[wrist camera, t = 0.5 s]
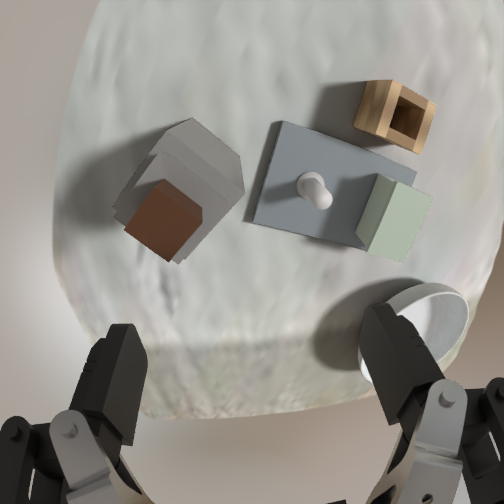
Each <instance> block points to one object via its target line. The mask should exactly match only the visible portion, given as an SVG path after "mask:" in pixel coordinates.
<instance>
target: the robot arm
mask: <svg viewBox="0 0 504 504" xmlns="http://www.w3.org/2000/svg"><path fill="white" fill-rule="evenodd" d="M419 335H420V334H419V332H418V331H417V329H416V328H415V326H414V324H413V323H412V322H410V321H409V320H408V319H407V318H405V317H404V316H403V315H398V316H397V315H396V313H395V311H394V310H393V308H392V307H391V305H390V304H389V303H382V304H376V305H369V306H367V307H366V310H365V314H364V318H363V323H362V327H361V331H360V334H359V349H360V352H361V355H362V357H363V360H364V362H365V365H366V367H367V370H368V372H369V374H370V377H371V380H372V382H373V385H374V387H375V390H376V392H377V395H378V397H379V400H380V403H381V405H382V408H383V411H384V413H385V416H386V419H387V421H388V424H389V425H393V424H396V423H400V425H401V427H402V429H401V431H400V433H399V436H398V439H397V442H396V444H395V446H394V449H393V452H392V454H391V457H390V459H389V461H388V464H387V466H386V468H385V471H384V473H383V475H382V477H381V479H380V480H379V482H378V483H377V485H376V486H375V487H374V489H373V491H372V492H371V494H370V496H369V498H368V500H367V502H366V504H452V503H453V500H454V497H455V493H456V490H457V487H458V483H459V480H460V476H461V473H462V474H463V477H464V480H465V483H466V487H467V491H468V494H469V498H470V502H471V504H504V378H500V377H499V378H494V379H492V380H491V381H490V382H489V384H488V385H487V386H486V388H481V389H464V388H463V387H462V386H461V385H460V384H459V383H457V382H456V381H453V380H450V379H446V378H445V377H444V375H443V373H442V372H441V370H440V368H439V366H438V365H437V363H436V361H435V359H434V358H433V356H432V354H431V352H430V351H429V349H428V347H427V346H426V345H425V342H424V341H423V339H422V337H421V336H419ZM147 367H148V361H147V354H146V351H145V349H144V347H143V344H142V342H141V340H140V337H139V335H138V332H137V330H136V328H135V326H134V325H133V324H112V325H111V326H110V328H109V331H108V333H107V336H106V338H100V339H99V340H98V341H97V342H96V344H95V345H94V346H93V347H92V348H91V350H90V353H89V355H88V358H87V363H85V365H84V368H83V372H82V373H81V376H80V379H79V381H78V384H77V387H76V390H75V393H74V395H73V398H72V402H71V404H70V407H69V409H68V410H65V411H62V412H60V413H59V414H57V415H56V416H55V417H54V418H53V420H52V422H51V423H44V424H35V425H31V424H29V423H28V422H27V421H26V420H25V419H24V418H23V417H20V416H13V417H11V418H9V419H7V420H6V421H5V423H4V424H3V426H2V428H1V431H0V504H154V502H152V501H151V499H150V498H149V497H148V496H147V495H146V493H145V492H144V491H143V489H142V487H141V486H140V484H139V483H138V481H137V480H136V478H135V477H134V475H133V474H132V472H131V470H130V469H129V467H128V466H127V464H126V462H125V461H124V459H123V457H122V455H121V454H120V450H121V445H127V446H133V439H134V433H135V428H136V422H137V417H138V412H139V407H140V401H141V396H142V391H143V387H144V382H145V377H146V373H147ZM490 431H491V433H492V436H493V438H494V440H495V443H496V446H497V448H498V451H499V454H500V461H499V459H498V456H497V454H496V451H495V448H494V446H493V443H492V441H491V438H490V436H489V432H490ZM33 469H35V474H34V479H33V485H32V491H31V497H30V500H29V497H28V493H29V487H30V481H31V475H32V471H33ZM328 504H346V500H341V501H337V502H332V503H328Z"/></svg>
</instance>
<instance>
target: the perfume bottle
mask: <svg viewBox="0 0 504 504" xmlns="http://www.w3.org/2000/svg"><path fill="white" fill-rule="evenodd" d="M244 194H245V188H244V182H243V175H242V168H241V161H240V156H239V155H238V154H237V153H235V152H234V151H233V150H232V149H231V148H229V147H228V146H227V145H226V144H225V143H223V142H222V141H221V140H220V139H219V138H217V137H216V136H215V135H214V134H212V133H211V132H210V131H209V130H208V129H206V128H205V127H204V126H203V125H201V124H200V123H199V122H198V121H196V120H195V119H194V118H191V119H189V120H187V121H185V122H183V123H181V124H179V125H177V126H174V127H172V128H170V129H168V130H167V131H166V132H165V133H164V135H163V136H162V137H161V138H160V140H159V141H158V142H157V144H156V145H155V146H154V147H153V149H152V150H151V151H150V153H149V154H148V155H147V157H146V158H145V160H144V161H143V162H142V164H141V165H140V166H139V168H138V169H137V171H136V172H135V173H134V175H133V176H132V178H131V179H130V181H129V182H128V183H127V185H126V186H125V188H124V189H123V191H122V192H121V194H120V195H119V197H118V198H117V200H116V202H115V203H114V205H113V206H112V207H114V208H115V209H116V210H118V211H117V212H116V214H115V215H114V218H115V219H116V220H118V221H119V222H120V223H122V224H123V225H124V226H126V227H125V229H124V231H126V232H127V233H129V234H130V235H131V236H133V237H134V238H135V239H137V240H138V241H139V242H141V243H142V244H144V245H145V246H146V247H148V248H149V249H151V250H152V251H153V252H155V253H156V254H158V255H159V256H160V257H162V258H163V259H165V260H166V261H167V262H169V261H170V260H173V261H174V262H176V263H177V264H178V265H179V263H180V262H181V261H182V260H183V259H186V258H187V257H188V256H189V255H190V253H191V252H192V251H193V250H194V249H195V248H196V247H197V246H198V244H199V243H200V242H201V241H202V240H203V239H204V238H205V237H206V236H207V234H208V233H209V232H210V231H211V230H212V229H213V228H214V227H215V226H216V225H217V223H218V222H219V221H220V220H221V219H222V218H223V217H224V216H225V215H226V214H227V213H228V211H229V210H230V209H231V208H232V207H233V206H234V205H235V204H236V203H237V202H238V201H239V200H240V199H241V198H242V196H243V195H244Z"/></svg>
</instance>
